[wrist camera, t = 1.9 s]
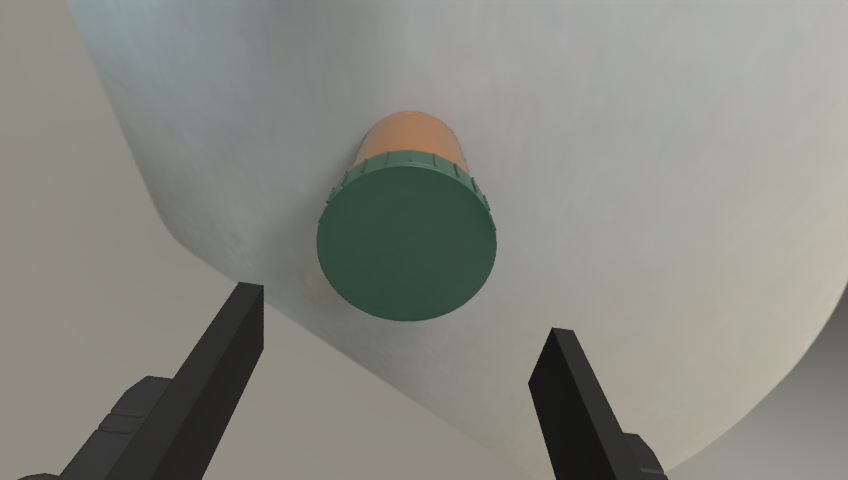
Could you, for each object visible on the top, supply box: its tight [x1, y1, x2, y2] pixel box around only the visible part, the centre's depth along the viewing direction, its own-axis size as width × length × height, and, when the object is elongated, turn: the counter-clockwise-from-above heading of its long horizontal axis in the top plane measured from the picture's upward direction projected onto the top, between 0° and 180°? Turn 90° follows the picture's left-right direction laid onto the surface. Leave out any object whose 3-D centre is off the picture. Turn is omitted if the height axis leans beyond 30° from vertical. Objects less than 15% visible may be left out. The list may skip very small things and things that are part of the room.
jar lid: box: [317, 149, 497, 321], centre depth 20 cm, size 8×8×2 cm
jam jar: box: [351, 112, 470, 176], centre depth 25 cm, size 8×8×12 cm
